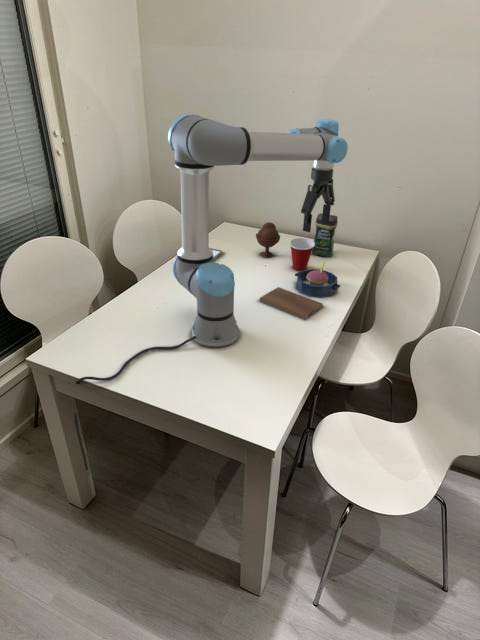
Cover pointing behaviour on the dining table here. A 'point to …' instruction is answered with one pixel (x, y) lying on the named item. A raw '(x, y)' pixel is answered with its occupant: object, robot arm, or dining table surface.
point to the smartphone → (216, 253)
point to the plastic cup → (301, 252)
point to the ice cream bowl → (267, 238)
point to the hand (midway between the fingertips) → (316, 226)
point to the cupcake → (317, 277)
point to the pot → (313, 289)
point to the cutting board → (291, 303)
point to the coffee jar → (324, 236)
